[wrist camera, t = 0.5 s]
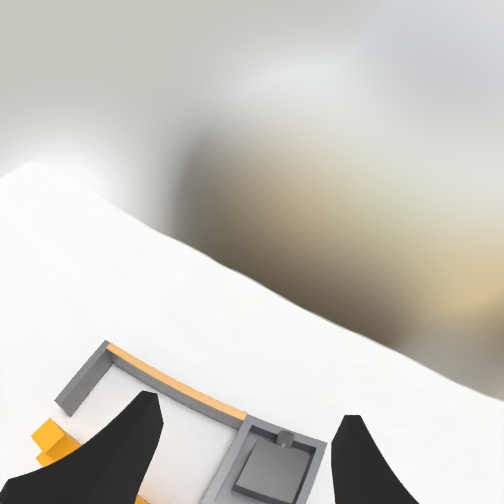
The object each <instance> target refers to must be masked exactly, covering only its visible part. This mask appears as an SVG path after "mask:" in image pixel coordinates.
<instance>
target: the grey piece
mask: <svg viewBox="0 0 504 504" xmlns="http://www.w3.org/2000/svg"><path fill="white" fill-rule="evenodd" d="M112 364H114V365H116V366H117V367H119V368H121V369H122V370H124V371H125V372H127V373H129V374H130V375H132V376H133V377H135V378H137V379H138V380H140V381H142V382H144V383H145V384H147V385H149V386H150V387H152V388H154V389H156V390H158V391H159V392H161V393H163V394H165V395H167V396H168V397H170V398H172V399H174V400H176V401H178V402H180V403H182V404H184V405H186V406H188V407H190V408H192V409H194V410H196V411H198V412H200V413H202V414H204V415H206V416H208V417H210V418H212V419H214V420H217V421H219V422H221V423H223V424H226V425H228V426H230V427H232V428H235V429H237V430H239V431H238V433H237V435H236V437H235V439H234V441H233V443H232V445H231V447H230V449H229V451H228V453H227V455H226V457H225V459H224V461H223V463H222V465H221V466H220V468H219V470H218V472H217V474H216V476H215V478H214V479H213V481H212V483H211V485H210V487H209V489H208V490H207V492H206V494H205V496H204V498H203V499H202V501H201V503H200V504H306V502H307V499H308V496H309V494H310V491H311V489H312V486H313V483H314V481H315V478H316V475H317V472H318V469H319V467H320V464H321V461H322V458H323V455H324V452H325V449H326V446H327V442H323V441H320V440H317V439H314V438H311V437H308V436H305V435H302V434H299V433H296V432H293V431H290V430H287V429H284V428H282V427H279V426H276V425H274V424H271V423H268V422H266V421H263V420H261V419H258V418H256V417H253V416H251V415H248V414H247V413H245V412H243V411H241V410H238V409H236V408H234V407H231V406H229V405H227V404H225V403H222V402H220V401H218V400H216V399H214V398H211V397H209V396H207V395H205V394H203V393H201V392H199V391H197V390H195V389H193V388H191V387H189V386H187V385H185V384H183V383H181V382H179V381H177V380H175V379H173V378H171V377H169V376H167V375H166V374H164V373H162V372H160V371H158V370H156V369H155V368H153V367H151V366H149V365H148V364H146V363H144V362H142V361H141V360H139V359H137V358H135V357H134V356H132V355H130V354H129V353H127V352H125V351H124V350H122V349H121V348H119V347H117V346H116V345H114V344H113V343H110V342H108V341H107V340H105V341H104V342H103V343H102V344H101V345H100V347H99V348H98V349H97V350H96V351H95V352H94V354H93V355H92V356H91V357H90V358H89V359H88V361H87V362H86V363H85V364H84V365H83V366H82V368H81V369H80V370H79V371H78V372H77V374H76V375H75V376H74V377H73V378H72V380H71V381H70V382H69V383H68V384H67V386H66V387H65V388H64V389H63V391H62V392H61V393H60V394H59V395H58V397H57V398H56V399H55V400H54V401H55V402H56V403H57V404H58V405H59V406H60V408H61V409H62V410H63V411H64V412H65V413H67V414H68V415H69V416H70V417H71V416H72V414H73V413H74V412H75V411H76V409H77V408H78V407H79V405H80V404H81V403H82V402H83V400H84V399H85V398H86V397H87V395H88V394H89V393H90V391H91V390H92V389H93V388H94V386H95V385H96V384H97V383H98V381H99V380H100V379H101V378H102V376H103V375H104V374H105V373H106V371H107V370H108V369H109V368H110V366H111V365H112Z"/></svg>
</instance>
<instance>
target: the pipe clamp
mask: <svg viewBox="0 0 504 504" xmlns="http://www.w3.org/2000/svg"><path fill="white" fill-rule="evenodd" d="M31 437H32V438H33V440H34V441H35V442H36V443H37V445H38V446H39V447H40V448H41V449H42V451H43V452H42V453H40V454H39V455H38V456H37V457H36V459H37V460H38V461H39V463H40V464H41V465H42V466H43V467H45V466H47V465H50V464H52V463H54V462H56V461H58V460H59V459H61V458H63V457H65V456H66V455H68V454H70V453H71V452H73V451H75V450H76V449H78V448H79V447H80V446H81V445H80V444H79V443H78V442H77V441H76V440H75V439H74V438H73V437H71V436H70V435H69V434H68V433H67V432H65V431H64V430H63V429H62V428H61V427H60V426H58V425H57V424H56V423H55V422H54V421H53V420H52V419H51V418H49V419H48V420H47V421H46V422H45V423H44V424H43V425H42V426H41V427H40V428H39V429H38V430H37V431H36V432H35V433H34V434H33V435H31ZM135 504H149V503H148V502H146V501H145V500H143V499H142V498H141V497H139V496H138V495H137V497H136V501H135Z"/></svg>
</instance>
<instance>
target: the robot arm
mask: <svg viewBox="0 0 504 504" xmlns="http://www.w3.org/2000/svg"><path fill="white" fill-rule="evenodd" d="M163 424H164V423H163V418H162V414H161V410H160V405H159V400H158V396H157V394H156V393H152V392H147V391H141V392H140V393H139V394H138V395H137V396H136V397H135V398H134V399H133V400H132V402H131V403H130V404H129V405H128V406H127V407H126V408H125V409H124V410H123V411H122V412H121V413H120V414H119V415H118V416H117V417H115V418H114V419H113V420H112V421H111V422H110V423H109V424H108V425H107V426H106V427H105V428H103V429H102V430H101V431H100V432H99V433H97V434H96V435H95V436H94V437H93V438H91V439H90V440H89V441H87V442H86V443H85V444H83V445H82V446H80V447H79V448H78V449H76V450H75V451H73V452H71V453H70V454H68V455H66V456H65V457H63V458H61V459H59V460H58V461H56V462H54V463H52V464H50V465H47V466H45V467H43V468H40V469H38V470H36V471H33V472H31V473H28V474H24V475H21V476H18V477H14V478H11V479H8V481H7V482H6V483H5V485H4V487H3V488H2V490H1V492H0V504H135V501H136V497H137V494H138V491H139V488H140V485H141V483H142V481H143V478H144V476H145V474H146V471H147V469H148V467H149V464H150V462H151V460H152V457H153V455H154V453H155V450H156V448H157V445H158V442H159V439H160V435H161V432H162V428H163ZM331 467H332V476H333V485H334V494H335V504H419V503H418V502H417V501H416V500H415V499H414V498H413V496H412V495H411V494H410V493H409V492H408V491H407V490H406V488H405V487H404V486H403V485H402V483H401V482H400V481H399V479H398V478H397V477H396V475H395V474H394V472H393V471H392V470H391V468H390V467H389V465H388V464H387V462H386V460H385V459H384V457H383V456H382V454H381V452H380V451H379V449H378V447H377V446H376V444H375V442H374V440H373V438H372V437H371V435H370V433H369V431H368V429H367V427H366V425H365V423H364V421H363V419H362V417H361V416H360V415H344V418H343V420H342V422H341V424H340V426H339V428H338V431H337V433H336V435H335V437H334V439H333V441H332V443H331Z"/></svg>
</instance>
